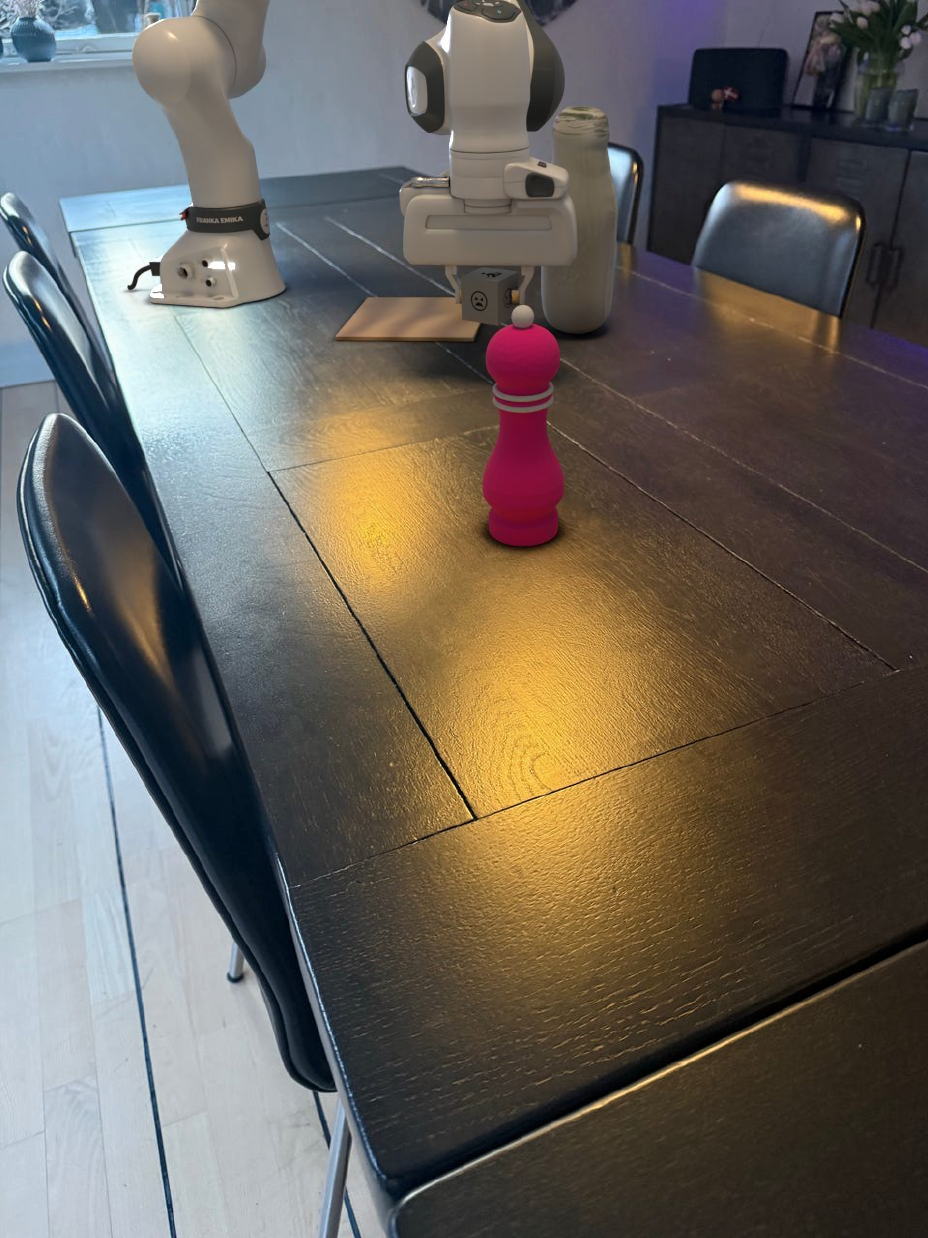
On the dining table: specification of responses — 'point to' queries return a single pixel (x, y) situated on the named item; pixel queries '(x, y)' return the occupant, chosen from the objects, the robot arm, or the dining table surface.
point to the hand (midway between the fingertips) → (490, 303)
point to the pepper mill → (523, 434)
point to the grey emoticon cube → (488, 295)
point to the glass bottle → (584, 224)
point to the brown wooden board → (409, 320)
